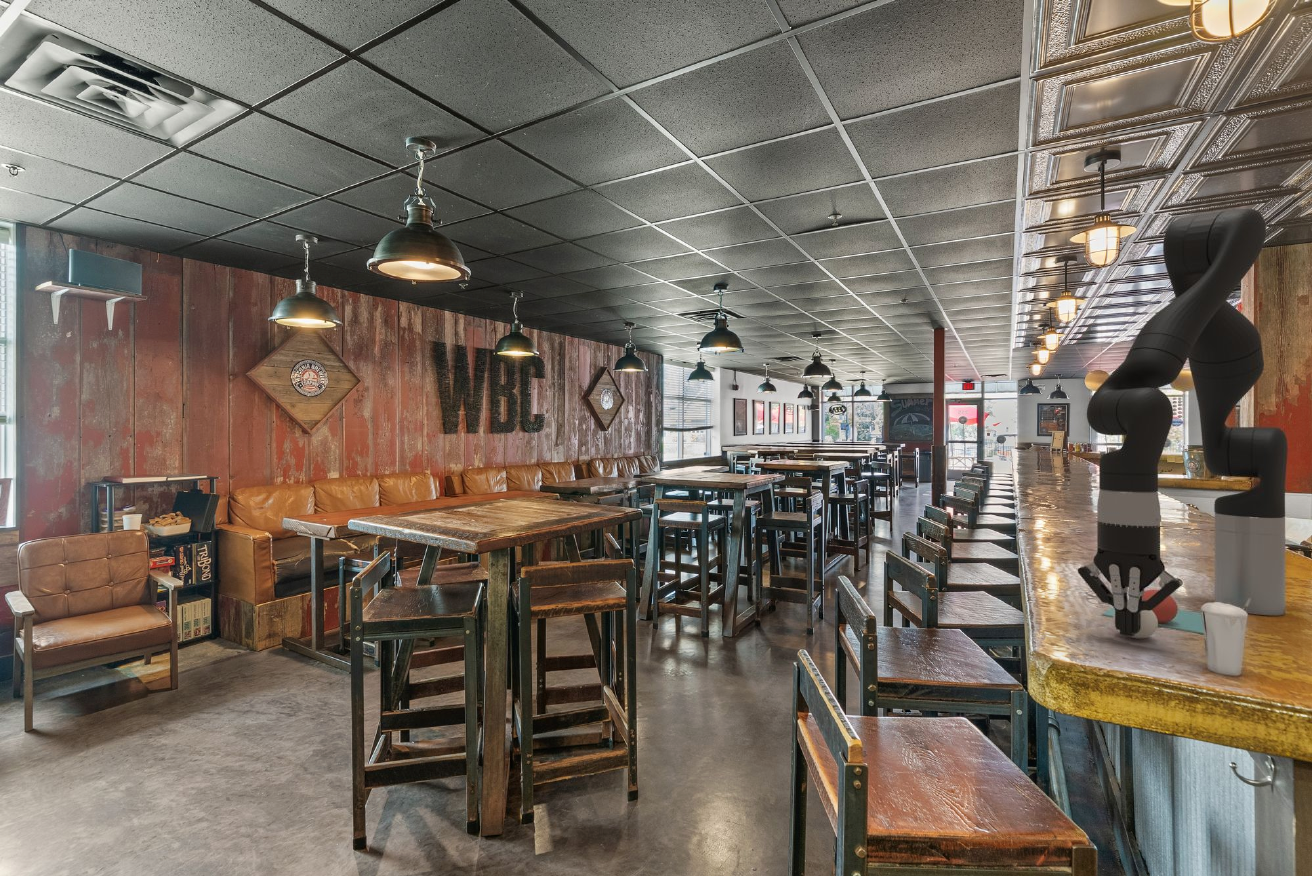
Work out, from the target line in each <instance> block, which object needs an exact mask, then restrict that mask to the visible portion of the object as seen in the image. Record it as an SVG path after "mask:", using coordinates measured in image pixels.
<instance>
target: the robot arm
mask: <svg viewBox="0 0 1312 876" xmlns="http://www.w3.org/2000/svg"><path fill="white" fill-rule="evenodd" d="M1164 233H1165V234H1164V238H1163V241H1162V242H1163V243H1162V244H1163V245H1162V251H1163V260H1164V265H1165V269H1166V272H1167V275H1168V278H1169V281H1170V285H1171V287H1172V291H1173V294H1174V297H1175V299H1174V300H1173V301H1171V302H1170V303H1168V304H1166V305H1165V306H1164V307H1163V308H1161V309H1160V310H1159V311H1157V312H1156V313H1155V314H1154V315H1153V316H1152V317H1150V319H1148V321H1147V322H1146V323H1145V324H1144V325H1143V326H1142V328H1140V331H1139V332H1138V334H1137V336H1136V338H1135V340H1134V341H1133V342H1132V345H1131V347H1130V349H1129V350H1128V353H1127V355H1126V357H1125V359H1124V361H1123V362H1122V363H1121V364H1120V365H1119V366H1117V368H1116V369H1115V370H1113V372H1112V373H1111V374H1110V375H1109V376H1108V377H1107V378H1106V379H1105V381H1104V382H1102V383H1101V385H1099V387H1098V388H1097V389H1096V391H1095V392H1094V393H1093V394H1092V396H1091V398H1090V400H1089V401H1088V404H1087V407H1086V419H1087V422H1088V425H1089V426H1090V427H1091V430H1093V431H1094V432H1096V433H1098V434H1100V435H1105V436H1125V439H1124V441H1123V444H1122V445H1121V447H1120V448H1119V449H1118V450H1112V451H1109V452H1106V453H1104V454H1102V455H1101V457H1100V459H1099V465H1098V466H1099V467H1098V468H1099V469H1098V471H1099V476H1098V477H1099V480H1098V482H1099V484H1098V485H1099V486H1098V487H1099V490H1098V491H1099V492H1098V498H1097V507H1096V508H1097V509H1096V511H1097V512H1096V514H1097V515H1096V516H1097V518H1096V519H1097V521H1096V523H1097V525H1096V527H1097V530H1096V531H1097V532H1096V534H1097V536H1096V538H1097V539H1096V542H1097V544H1096V545H1097V547H1096V549H1097V550H1096V553H1095V555H1094V557H1093V561H1092V562H1091V563H1089V564H1087V565H1084V566H1081V567H1078V569H1077V573H1078V574H1079V576H1080V577H1081V578H1082V579H1083V581H1084V582H1085V583H1086V584H1087V586H1089V588H1090V589H1091V591H1092V592H1093V593H1094V595H1095V596H1097V598H1098V599H1099V600H1100V601H1101V602H1102V603H1105V604H1108V605H1110V606H1111V607H1112V608H1113V607H1114V608H1115V623H1114V627H1115V629H1116V630H1119V634H1120V635H1123V636H1127V635H1128V636H1127V637H1129V636H1134V635H1135V633H1138V632H1139V631H1140V629H1141V611H1144V610H1147V611H1150V610H1152V609H1153V608H1155V607H1156V606H1158V605H1159V604H1160V603H1161V602H1162V601H1164V600H1165V599H1166V598H1167V597H1168V596H1171V595H1172V594H1174V592H1175V591H1177V590H1178V589H1180V588H1181V587H1182V586H1183V584H1184V583H1183V580H1182V579H1180V578H1178V577H1174V576H1173V575H1171V574H1170V572H1168V571H1166V567H1165V564H1164V562H1163V561H1162V559H1161V522H1162V515H1161V506H1160V504H1161V503H1160V499H1159V472H1158V471H1159V467H1158V466H1159V463H1160V461H1161V457H1162V454H1163V451H1164V448H1165V445H1166V442H1167V439H1168V437H1169V434H1170V430H1171V428H1172V424H1173V419H1174V410H1173V405H1172V402H1171V400H1170V398H1169V397H1168V396H1167V394H1166V393H1165V392H1163V391H1162V390H1160V389H1159V388H1162V387H1165V386H1168V385H1170V384H1172V383H1173V382H1175V381H1176V380H1177V378H1178V376H1179V375H1180V374H1181V372H1182V370H1183V369H1184V366H1185V364H1186V363H1187V360H1188V365H1189V368H1190V372H1191V377H1192V378H1191V379H1192V381H1193V382H1192V383H1193V386H1194V389H1195V395H1196V396H1195V397H1196V400H1197V405H1198V410H1199V412H1198V413H1199V421H1200V431H1201V432H1200V433H1201V443H1202V444H1201V445H1202V452H1203V459H1204V463H1205V467H1206V468H1207V470H1208V472H1209V473H1211V474H1212V475H1214V476H1217V477H1229V478H1230V477H1231V478H1254V479H1255V478H1256V479H1258V480H1259V482H1258V483H1257V484H1256V485H1255V486H1254V487H1252V488H1250V489H1248V490H1245V491H1241V492H1238V493H1233V494H1229V495H1227V494H1226V495H1224V496H1223V495H1222V496H1219V497H1217V498H1216V499H1215V500H1214V504H1213V505H1214V510H1213V512H1214V581H1213V582H1214V590H1213V591H1214V595H1213V597H1214V598H1213V599H1214V601H1213V602H1221V603H1224V604H1230V605H1233V606H1236V607H1239V608H1241V609H1243V608H1244V606H1245V604H1246V603H1247V601H1248V599H1249V598H1252V599H1251V601H1250V603H1249V605H1248V607H1247V609H1246V611H1245V612H1246V613H1247V614H1251V615H1252V614H1253V615H1262V616H1263V615H1264V616H1284V615H1286V475H1287V466H1288V465H1287V464H1288V450H1289V448H1288V439H1287V435H1286V433H1285V432H1284V430H1282V429H1281V428H1279V427H1275V426H1242V427H1241V426H1240V427H1239V426H1237V427H1236V426H1233V427H1232V426H1231V427H1229V426H1227V425H1226V421H1227V420H1228V418H1229V416H1230V415H1231V413H1232V412H1233V409H1234V408H1235V407H1236V406H1237V405H1238V404H1239V402H1240V401H1241V400H1242V399H1243V398H1244V396H1245V395H1247V394H1248V392H1249V391H1250V390H1252V388H1253V387H1255V386H1254V385H1255V384H1256V383H1257V382H1258V380H1259V379H1260V377H1261V375H1263V372H1264V370H1265V369H1264V367H1265V362H1264V361H1265V360H1264V359H1265V358H1264V354H1263V353H1264V352H1263V346H1262V339H1261V335H1260V332H1259V330H1258V329H1257V327H1256V326H1255V324H1253V322H1252V321H1251V320H1249V319H1248V317H1246V316H1245V315H1244V314H1243V313H1242V312H1240V310H1238V309H1237V308H1236V307H1235V306H1233V304H1231V303H1230V302H1228V301H1227V299H1228V298H1229V297H1230V296H1231V294H1232V293H1233V292H1234V291H1235V290H1236V288H1237V287H1238V285H1239V284H1240V282H1242V280H1243V279H1244V278H1245V276H1246V275H1247V273H1248V272H1249V271H1250V270H1251V268H1252V267H1253V265H1254V264H1255V262H1256V261H1257V259H1258V258H1259V255H1260V254H1261V252H1262V249H1263V247H1264V244H1265V241H1266V236H1267V226H1266V220H1265V218H1264V216H1263V215H1262V213H1261V212H1260V211H1259V210H1257V209H1253V208H1237V209H1229V210H1227V209H1226V210H1221V211H1216V212H1215V211H1214V212H1209V213H1201V214H1195V215H1193V214H1192V215H1189V216H1184V217H1180V218H1177V219H1175V220H1174V221H1173V222H1171V223H1170V225H1168V227H1167V228H1166V230H1165V232H1164ZM1100 573H1101V574H1102V575H1103V577H1104V578H1105V579H1106V581H1107V582H1108V583H1109V584H1110V587H1111V590H1110V589H1109V588H1108V587H1107V586H1106V584H1105V583H1104V582H1103V580H1101V578H1100V577H1099V576H1100ZM1158 578H1160V580H1159V581H1158V586H1159V587H1160V589H1158V590H1159V591H1158V592H1157V593H1155V594H1154V595H1153V596H1152V597H1151V598H1149V599H1148V600H1144V601H1143V595H1144V591H1145V589H1146V588H1148V587H1149V586H1150V585H1151V584H1153V582H1155V581H1156V580H1157V579H1158ZM1127 606H1128V608H1127Z"/></svg>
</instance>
